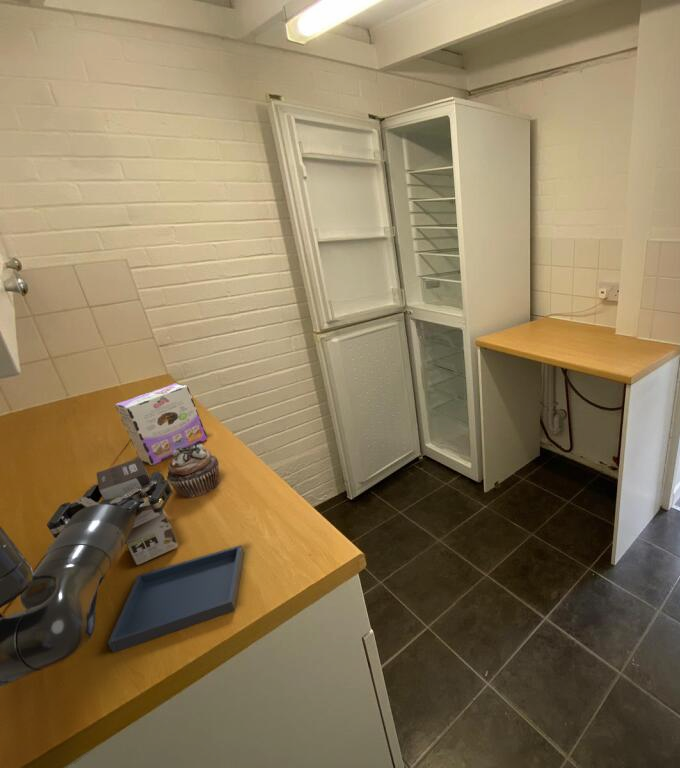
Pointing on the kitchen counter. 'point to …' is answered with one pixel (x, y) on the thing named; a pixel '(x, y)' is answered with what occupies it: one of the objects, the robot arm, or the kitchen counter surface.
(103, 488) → the coffee box
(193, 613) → the tray
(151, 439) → the candy box
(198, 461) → the cupcake
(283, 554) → the kitchen counter surface
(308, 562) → the kitchen counter surface
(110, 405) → the kitchen counter surface
